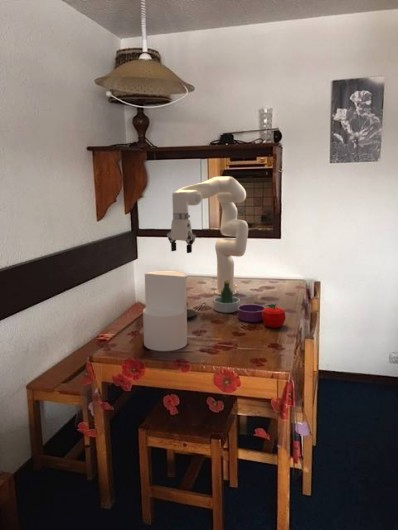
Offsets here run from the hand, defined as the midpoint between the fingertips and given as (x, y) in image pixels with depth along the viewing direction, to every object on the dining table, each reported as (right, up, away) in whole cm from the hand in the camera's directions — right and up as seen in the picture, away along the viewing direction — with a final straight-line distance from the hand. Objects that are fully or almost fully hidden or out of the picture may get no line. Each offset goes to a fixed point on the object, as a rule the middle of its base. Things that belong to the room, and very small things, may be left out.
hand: (181, 251), depth 223 cm
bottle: (+23, -28, +6) cm, 37 cm away
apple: (+42, -34, -19) cm, 57 cm away
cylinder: (-5, -38, -40) cm, 55 cm away
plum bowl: (+33, -32, -9) cm, 47 cm away
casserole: (-5, -31, -5) cm, 32 cm away
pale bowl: (+23, -29, +6) cm, 37 cm away
